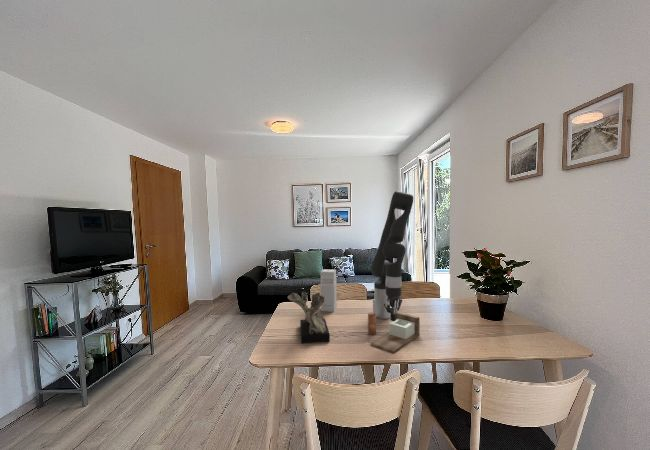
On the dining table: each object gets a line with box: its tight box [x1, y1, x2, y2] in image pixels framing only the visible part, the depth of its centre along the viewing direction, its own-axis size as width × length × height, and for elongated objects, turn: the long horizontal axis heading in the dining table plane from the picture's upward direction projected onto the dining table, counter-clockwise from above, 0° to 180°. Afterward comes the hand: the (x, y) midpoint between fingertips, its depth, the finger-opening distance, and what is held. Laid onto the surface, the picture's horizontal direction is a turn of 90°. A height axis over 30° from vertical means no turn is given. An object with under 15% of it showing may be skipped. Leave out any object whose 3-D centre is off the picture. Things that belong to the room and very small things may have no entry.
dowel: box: [367, 311, 377, 336], centre depth 144 cm, size 4×4×10 cm
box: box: [319, 268, 338, 313], centre depth 182 cm, size 8×8×25 cm
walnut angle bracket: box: [370, 311, 421, 354], centre depth 136 cm, size 12×25×9 cm, turn 136°
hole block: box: [388, 318, 415, 339], centre depth 140 cm, size 9×9×6 cm
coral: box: [287, 291, 331, 344], centre depth 143 cm, size 25×20×22 cm
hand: (393, 320), depth 136 cm, fingers closed
